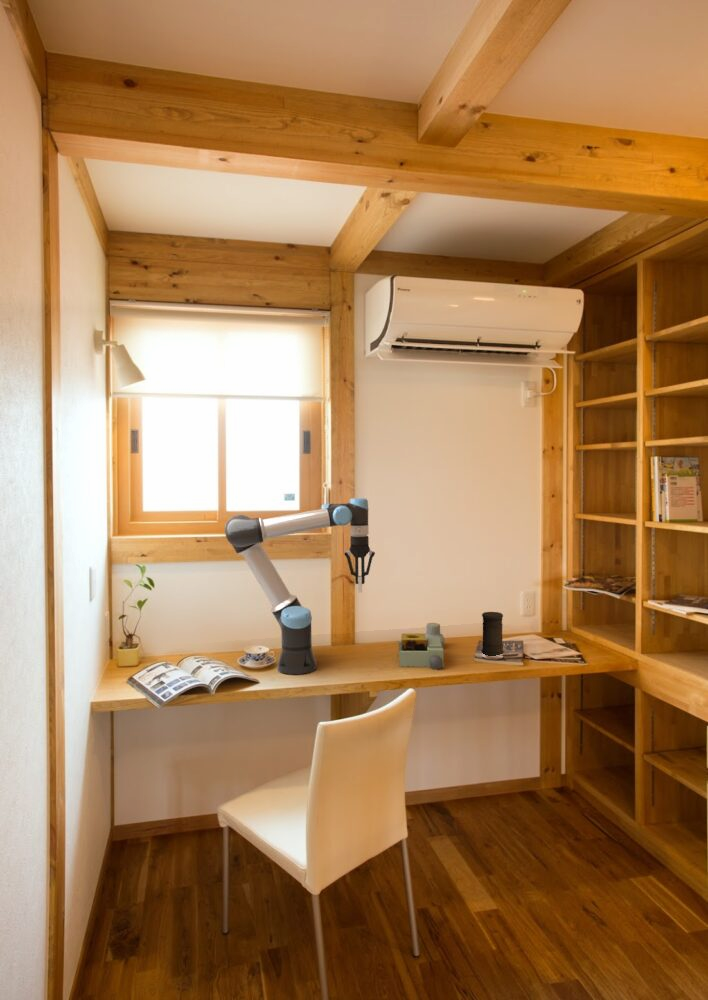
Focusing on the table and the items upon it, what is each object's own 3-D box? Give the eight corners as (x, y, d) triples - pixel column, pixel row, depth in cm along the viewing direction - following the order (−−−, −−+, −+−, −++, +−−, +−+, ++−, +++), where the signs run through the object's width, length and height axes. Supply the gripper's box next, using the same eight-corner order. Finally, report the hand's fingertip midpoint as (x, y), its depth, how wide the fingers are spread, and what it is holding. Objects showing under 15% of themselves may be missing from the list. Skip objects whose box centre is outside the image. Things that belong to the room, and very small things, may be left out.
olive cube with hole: (427, 664, 257) (427, 639, 256) (401, 664, 257) (401, 639, 257) (426, 657, 267) (425, 633, 266) (401, 656, 268) (401, 633, 267)
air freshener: (445, 650, 276) (445, 627, 276) (426, 651, 275) (426, 627, 275) (439, 643, 287) (439, 620, 286) (421, 644, 286) (420, 621, 285)
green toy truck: (399, 669, 251) (399, 649, 250) (398, 652, 273) (398, 634, 273) (443, 669, 250) (443, 649, 249) (439, 652, 272) (439, 634, 272)
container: (507, 656, 266) (507, 613, 265) (497, 661, 259) (497, 617, 258) (487, 652, 272) (488, 610, 271) (477, 657, 265) (477, 614, 264)
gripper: (343, 536, 266) (343, 593, 267) (374, 536, 265) (375, 593, 266) (344, 534, 273) (345, 589, 274) (375, 534, 272) (375, 589, 274)
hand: (360, 591), depth 270 cm, fingers closed
